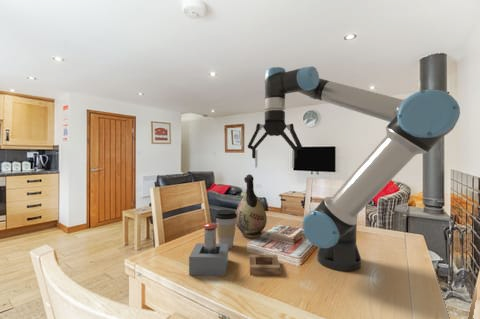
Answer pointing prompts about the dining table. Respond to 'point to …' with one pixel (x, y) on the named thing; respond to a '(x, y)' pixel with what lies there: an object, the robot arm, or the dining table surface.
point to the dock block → (208, 261)
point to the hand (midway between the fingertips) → (274, 167)
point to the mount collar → (264, 269)
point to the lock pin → (210, 238)
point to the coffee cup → (226, 226)
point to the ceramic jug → (250, 212)
